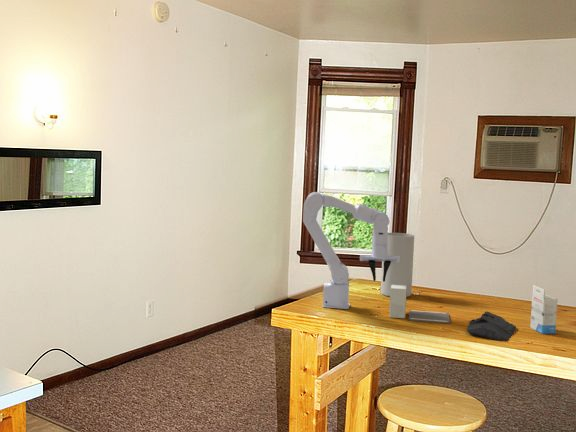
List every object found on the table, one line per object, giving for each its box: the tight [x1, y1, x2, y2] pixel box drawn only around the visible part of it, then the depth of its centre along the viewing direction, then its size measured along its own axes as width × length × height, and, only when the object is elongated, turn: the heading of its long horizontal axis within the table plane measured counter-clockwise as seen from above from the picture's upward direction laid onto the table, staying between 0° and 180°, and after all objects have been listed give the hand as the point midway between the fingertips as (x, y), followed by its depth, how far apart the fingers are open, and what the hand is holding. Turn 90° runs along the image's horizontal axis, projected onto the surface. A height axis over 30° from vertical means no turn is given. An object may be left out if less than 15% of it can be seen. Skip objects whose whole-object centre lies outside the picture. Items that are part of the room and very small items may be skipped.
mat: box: [408, 309, 451, 325], centre depth 227 cm, size 14×14×1 cm
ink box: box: [529, 284, 559, 335], centre depth 214 cm, size 9×5×15 cm, turn 5°
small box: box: [388, 284, 407, 319], centre depth 228 cm, size 8×6×10 cm
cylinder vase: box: [380, 232, 415, 298], centre depth 264 cm, size 12×12×25 cm
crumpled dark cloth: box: [466, 311, 517, 342], centre depth 211 cm, size 15×22×5 cm
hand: (379, 280), depth 238 cm, fingers open, 3 cm apart
